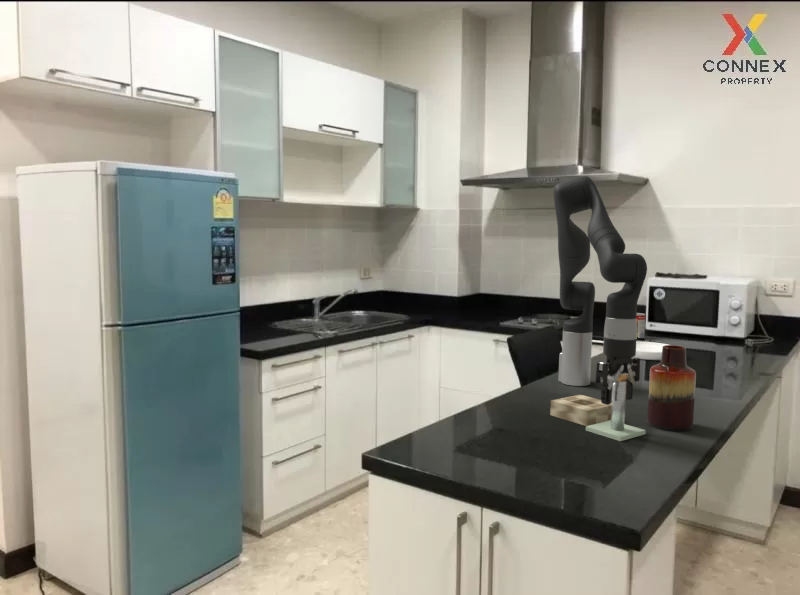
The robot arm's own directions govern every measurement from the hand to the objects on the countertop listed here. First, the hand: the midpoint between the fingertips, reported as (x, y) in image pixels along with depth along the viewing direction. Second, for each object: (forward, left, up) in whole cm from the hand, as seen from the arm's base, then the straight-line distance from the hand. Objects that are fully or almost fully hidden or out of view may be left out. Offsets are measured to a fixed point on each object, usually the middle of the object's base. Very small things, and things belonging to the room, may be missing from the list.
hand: (616, 401), depth 157 cm
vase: (+4, +17, -8) cm, 19 cm away
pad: (0, 0, -8) cm, 8 cm away
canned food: (-85, +132, -8) cm, 158 cm away
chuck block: (-13, +4, -8) cm, 16 cm away
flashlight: (0, 0, -7) cm, 7 cm away
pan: (-63, +96, -8) cm, 115 cm away
